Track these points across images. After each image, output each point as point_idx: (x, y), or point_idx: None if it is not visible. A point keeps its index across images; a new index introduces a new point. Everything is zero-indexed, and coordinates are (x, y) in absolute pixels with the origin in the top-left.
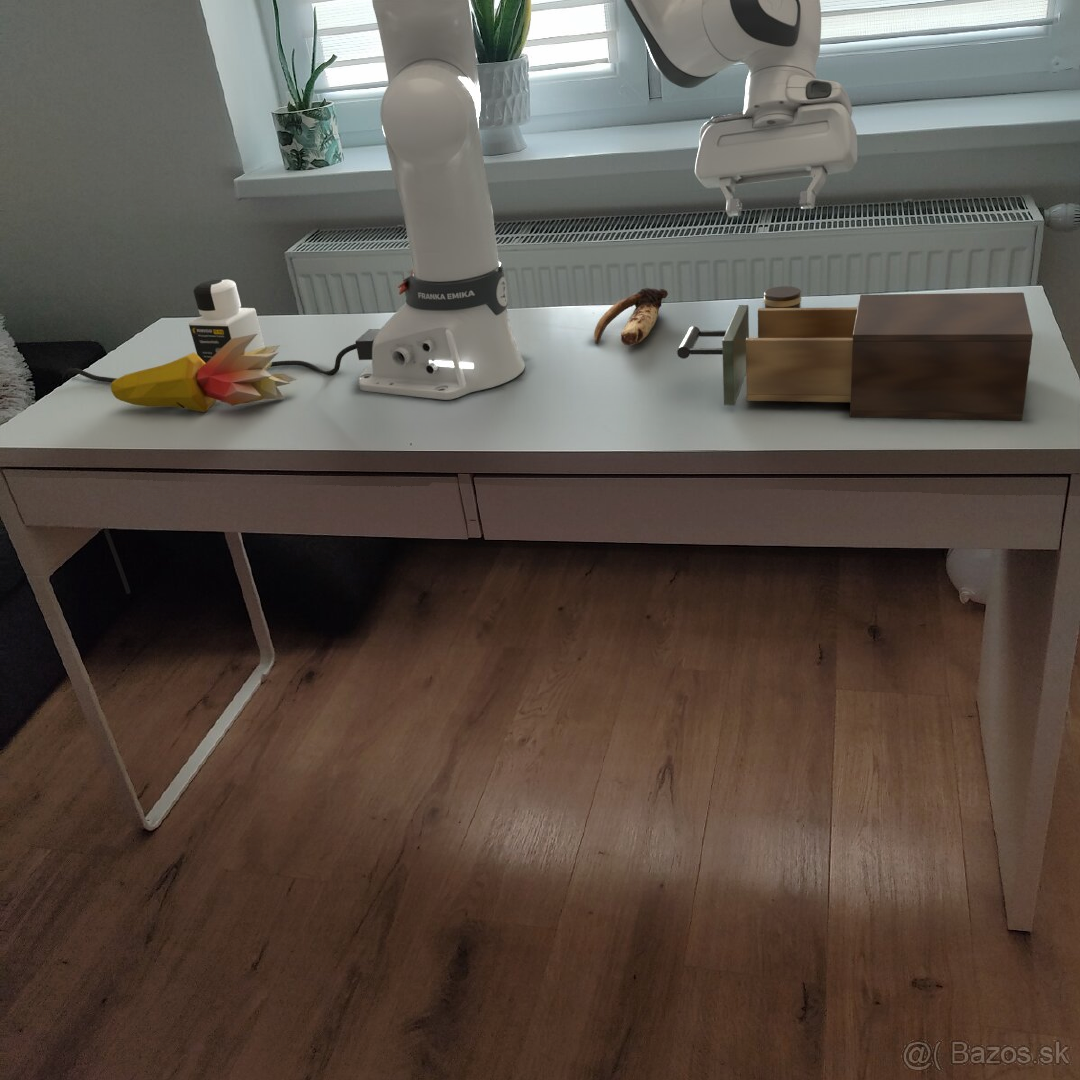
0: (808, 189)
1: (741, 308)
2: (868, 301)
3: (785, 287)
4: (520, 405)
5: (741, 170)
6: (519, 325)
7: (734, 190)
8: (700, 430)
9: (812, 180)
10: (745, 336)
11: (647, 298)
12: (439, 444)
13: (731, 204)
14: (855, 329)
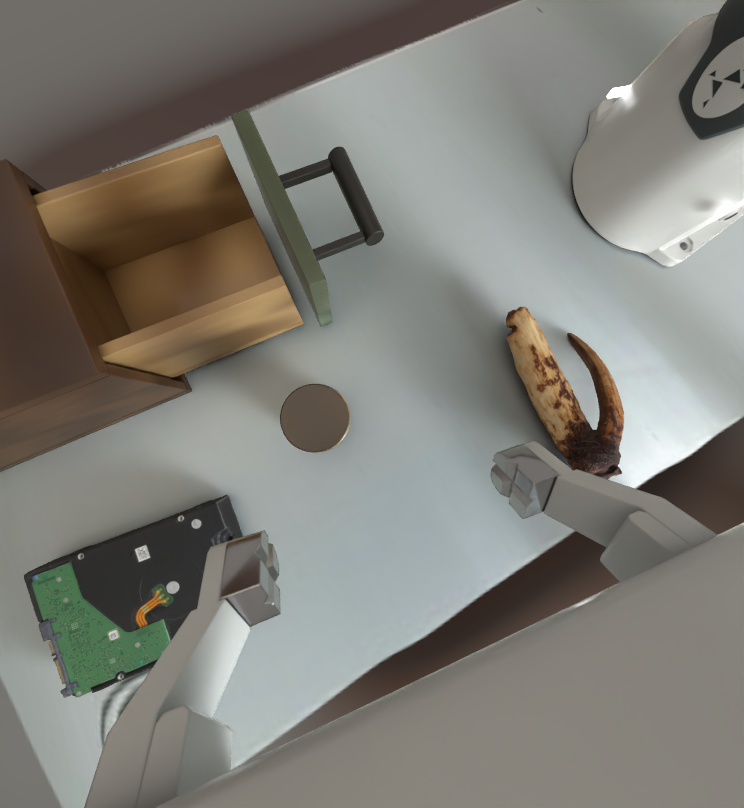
0: (213, 603)
1: (309, 263)
2: (60, 337)
3: (322, 442)
4: (510, 134)
5: (655, 587)
6: (709, 351)
7: (605, 556)
8: (277, 156)
9: (183, 670)
10: (298, 270)
11: (589, 439)
12: (512, 20)
13: (536, 460)
14: (13, 183)
